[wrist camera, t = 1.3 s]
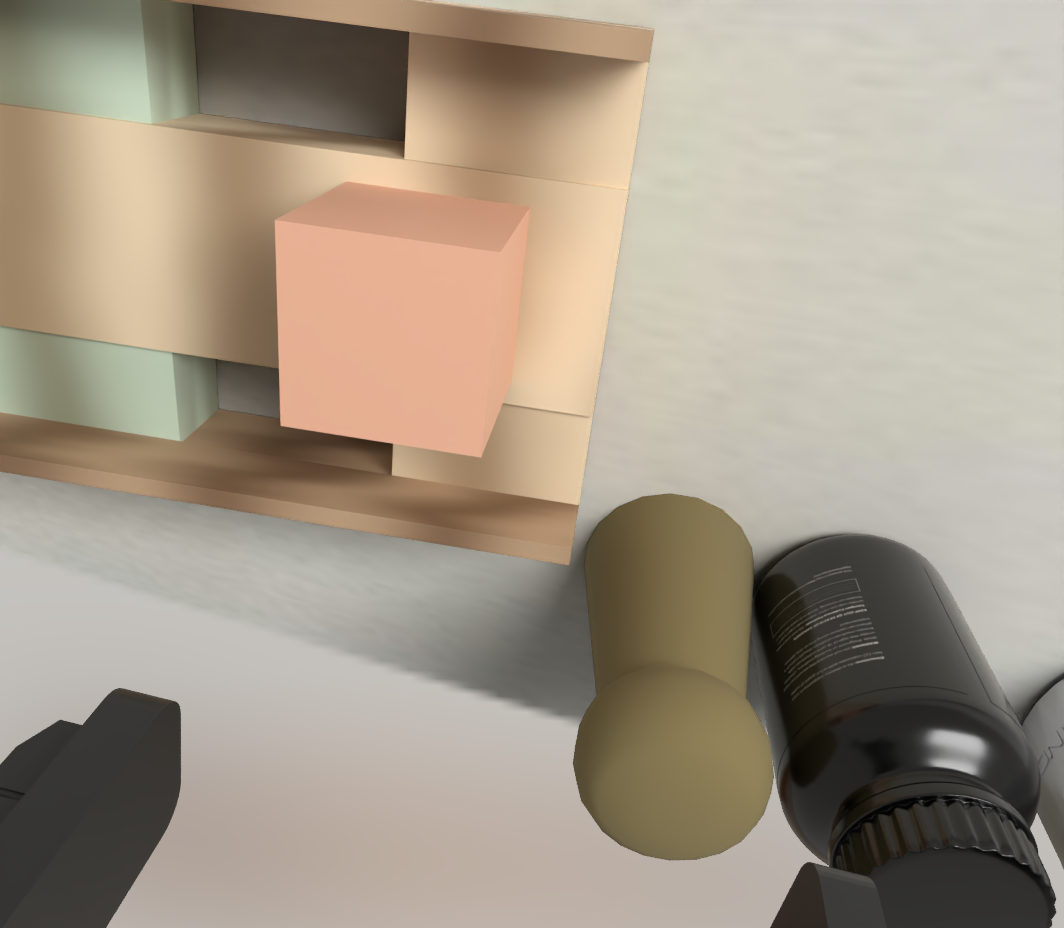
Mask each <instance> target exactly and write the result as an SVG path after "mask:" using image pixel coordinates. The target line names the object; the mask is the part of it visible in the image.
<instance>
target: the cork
mask: <svg viewBox="0 0 1064 928" xmlns="http://www.w3.org/2000/svg"><path fill="white" fill-rule="evenodd" d="M584 571H585V582H586V592H587V602H588V613H589V623H590V633H591V644H592V654H593V664H594V675H595V685H596V695H597V696H596V697H595V699H594V700H593V702H592V703H591V705H590V706H589V708H588V709H587V711H586V713H585V715H584V717H583V719H582V721H581V723H580V725H579V729H578V735H577V740H576V745H575V752H574V759H573V766H574V771H575V776H576V781H577V785H578V789H579V793H580V797H581V801H582V803H583V804H584V806H585V807H586V808H587V810H588V811H589V813H590V814H591V815H592V817H593V819H594V820H595V821H596V823H597V824H598V826H599V827H600V829H601V830H602V831H603V832H604V833H605V834H607V835H608V836H609V837H610V838H612V839H613V840H614V841H616V842H617V843H618V844H620V845H621V846H623V847H626V848H628V849H630V850H633V851H635V852H637V853H639V854H642V855H645V856H650V857H655V858H660V859H666V860H697V859H700V858H704V857H708V856H712V855H716V854H720V853H722V852H724V851H726V850H727V849H729V848H731V847H733V846H734V845H736V844H738V843H740V842H741V841H742V840H743V839H744V838H745V837H746V836H747V834H748V833H749V832H750V831H751V830H752V829H753V828H754V827H755V826H756V824H757V823H758V821H759V820H760V818H761V817H762V816H763V814H764V812H765V809H766V806H767V803H768V800H769V797H770V794H771V790H772V784H773V778H774V775H773V765H772V755H771V749H770V743H769V738H768V735H767V733H766V731H765V729H764V727H763V725H762V724H761V722H760V720H759V718H758V716H757V715H756V713H755V711H754V709H753V708H752V706H751V704H750V702H749V701H748V700H747V699H746V698H747V682H748V665H749V649H750V632H751V616H752V599H753V583H754V563H753V554H752V547H751V545H750V543H749V541H748V540H747V538H746V536H745V534H744V532H743V530H742V528H741V527H740V526H739V525H738V524H737V523H736V522H735V521H734V520H733V519H732V518H731V517H730V516H729V515H728V514H726V513H725V512H724V511H723V510H722V509H720V508H718V507H716V506H714V505H711V504H709V503H707V502H705V501H703V500H701V499H699V498H694V497H688V496H682V495H676V494H663V495H654V496H645V497H641V498H639V499H636V500H634V501H631V502H629V503H627V504H624V505H622V506H619V507H618V508H616V509H615V510H614V511H613V512H612V513H610V514H609V515H608V516H607V517H606V518H605V519H603V520H602V521H601V522H600V523H599V524H598V526H597V528H596V529H595V531H594V533H593V534H592V536H591V538H590V539H589V541H588V543H587V549H586V555H585V560H584Z"/></svg>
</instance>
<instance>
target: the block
mask: <svg viewBox="0 0 1064 928" xmlns="http://www.w3.org/2000/svg"><path fill="white" fill-rule="evenodd" d="M529 214H530V207H526V206H519V205H512V204H505V203H498V202H491V201H483V200H476V199H469V198H462V197H455V196H448V195H441V194H433V193H426V192H419V191H412V190H405V189H398V188H391V187H384V186H376V185H369V184H362V183H355V182H348V181H347V182H345V183H343V184H341V185H339V186H337V187H335V188H333V189H332V190H330V191H328V192H326V193H324V194H322V195H320V196H319V197H317V198H315V199H313V200H311V201H309V202H307V203H306V204H304V205H302V206H300V207H298V208H296V209H294V210H292V211H291V212H289V213H287V214H285V215H283V216H281V217H279V218H278V219H276V220H275V246H276V282H277V317H278V352H279V388H280V423H281V426H285V427H291V428H297V429H304V430H310V431H316V432H323V433H329V434H335V435H341V436H348V437H354V438H360V439H367V440H373V441H379V442H386V443H392V444H398V445H405V446H411V447H417V448H424V449H430V450H436V451H442V452H449V453H455V454H461V455H468V456H474V457H480V458H481V457H482V454H483V452H484V449H485V447H486V444H487V442H488V439H489V437H490V434H491V432H492V429H493V427H494V424H495V421H496V419H497V416H498V414H499V411H500V409H501V406H502V404H503V401H504V399H505V396H506V394H507V391H508V389H509V386H510V384H511V381H512V373H513V363H514V354H515V345H516V335H517V326H518V317H519V308H520V298H521V289H522V280H523V270H524V261H525V252H526V242H527V233H528V224H529Z"/></svg>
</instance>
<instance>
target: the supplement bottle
mask: <svg viewBox="0 0 1064 928" xmlns="http://www.w3.org/2000/svg"><path fill="white" fill-rule="evenodd" d="M751 637H752V644H753V651H754V657H755V663H756V668H757V674H758V680H759V686H760V691H761V697H762V703H763V709H764V714H765V720H766V726H767V732H768V737H769V743H770V749H771V755H772V760H773V766H774V771H775V777H776V783H777V789H778V793H779V797H780V801H781V805H782V809H783V812H784V814H785V817H786V819H787V821H788V823H789V825H790V827H791V828H792V830H793V831H794V833H795V834H796V835H797V837H798V838H799V839H800V841H801V842H802V843H803V844H804V845H805V846H806V847H807V848H808V849H809V850H810V851H811V852H812V853H813V854H814V855H815V856H817V857H818V858H819V859H820V860H822V861H823V862H825V863H826V864H827V865H829V867H831V868H835V869H839V870H843V871H847V872H851V873H855V874H859V875H863V876H867V877H869V878H870V879H871V880H872V881H873V882H874V884H875V886H876V888H877V891H878V894H879V898H880V902H881V906H882V910H883V914H884V918H885V923H886V927H887V928H1050V927H1051V926H1052V920H1051V919H1052V918H1053V917H1054V915H1055V914H1056V909H1055V906H1054V904H1055V901H1056V897H1055V893H1054V891H1053V889H1052V886H1051V883H1050V879H1049V877H1048V875H1047V872H1046V870H1045V868H1044V866H1043V864H1042V862H1041V860H1040V857H1039V856H1038V848H1037V844H1036V842H1035V839H1034V837H1033V834H1032V832H1031V831H1030V827H1031V825H1032V823H1033V821H1034V819H1035V816H1036V813H1037V810H1038V806H1039V801H1040V795H1041V776H1040V769H1039V765H1038V761H1037V759H1036V756H1035V754H1034V751H1033V749H1032V747H1031V745H1030V742H1029V740H1028V738H1027V736H1026V734H1025V732H1024V730H1023V728H1022V726H1021V724H1020V723H1019V721H1018V719H1017V717H1016V715H1015V713H1014V711H1013V709H1012V707H1011V706H1010V704H1009V702H1008V700H1007V698H1006V696H1005V694H1004V692H1003V690H1002V688H1001V687H1000V685H999V683H998V681H997V679H996V677H995V675H994V673H993V671H992V670H991V668H990V666H989V664H988V662H987V660H986V658H985V656H984V654H983V653H982V651H981V649H980V647H979V645H978V643H977V641H976V639H975V637H974V636H973V634H972V632H971V630H970V628H969V626H968V624H967V622H966V620H965V619H964V617H963V615H962V613H961V611H960V609H959V607H958V605H957V603H956V602H955V600H954V598H953V596H952V594H951V593H950V591H949V589H948V587H947V586H946V584H945V582H944V580H943V579H942V577H941V576H940V574H939V573H938V572H937V570H936V569H935V568H934V566H933V565H932V564H931V563H930V562H929V561H928V560H927V559H925V558H924V557H923V556H922V555H920V554H919V553H917V552H916V551H914V550H913V549H911V548H909V547H907V546H906V545H904V544H901V543H899V542H896V541H893V540H890V539H887V538H883V537H878V536H872V535H861V534H849V535H838V536H832V537H827V538H823V539H820V540H816V541H814V542H811V543H808V544H806V545H804V546H802V547H800V548H798V549H796V550H794V551H793V552H791V553H789V554H788V555H787V556H785V557H784V558H782V559H781V560H780V561H779V562H778V563H777V564H776V565H775V566H774V567H773V568H772V569H771V570H770V571H769V572H768V573H767V574H766V576H765V577H764V578H763V580H762V581H761V583H760V584H759V586H758V588H757V590H756V593H755V595H754V598H753V601H752V616H751Z"/></svg>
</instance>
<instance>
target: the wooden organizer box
mask: <svg viewBox="0 0 1064 928" xmlns="http://www.w3.org/2000/svg"><path fill="white" fill-rule="evenodd" d="M192 4H198V5H206V6H213V7H221V8H229V9H237V10H244V11H252V12H260V13H268V14H276V15H283V16H291V17H299V18H307V19H314V20H322V21H330V22H338V23H345V24H353V25H361V26H369V27H376V28H384V29H392V30H400V31H408V32H409V56H408V81H407V106H406V131H405V142H404V141H397V140H390V139H382V138H375V137H368V136H360V135H353V134H346V133H338V132H331V131H324V130H316V129H309V128H302V127H295V126H287V125H280V124H273V123H265V122H258V121H251V120H243V119H236V118H229V117H221V116H214V115H207V114H200V113H199V98H198V82H197V67H196V51H195V36H194V20H193V5H192ZM653 33H654V29H652V28H644V27H636V26H628V25H620V24H613V23H605V22H597V21H589V20H581V19H573V18H565V17H557V16H549V15H541V14H533V13H525V12H518V11H510V10H502V9H494V8H486V7H478V6H470V5H462V4H454V3H446V2H438V1H431V0H0V472H6V473H12V474H18V475H25V476H31V477H37V478H43V479H49V480H55V481H61V482H67V483H73V484H79V485H85V486H91V487H97V488H103V489H109V490H115V491H121V492H127V493H134V494H140V495H146V496H152V497H158V498H164V499H170V500H176V501H182V502H188V503H194V504H200V505H206V506H212V507H218V508H224V509H230V510H237V511H243V512H249V513H255V514H261V515H267V516H273V517H279V518H285V519H291V520H297V521H303V522H309V523H315V524H321V525H327V526H333V527H339V528H346V529H352V530H358V531H364V532H370V533H376V534H382V535H388V536H394V537H400V538H406V539H412V540H418V541H424V542H430V543H436V544H442V545H448V546H455V547H461V548H467V549H473V550H479V551H485V552H491V553H497V554H503V555H509V556H515V557H521V558H527V559H533V560H539V561H545V562H551V563H557V564H564V565H569V564H570V557H571V551H572V545H573V539H574V532H575V526H576V520H577V513H578V507H579V501H580V495H581V488H582V482H583V476H584V469H585V463H586V457H587V450H588V444H589V438H590V431H591V425H592V419H593V412H594V406H595V400H596V394H597V387H598V381H599V375H600V368H601V362H602V356H603V349H604V343H605V337H606V330H607V324H608V318H609V311H610V305H611V299H612V292H613V286H614V280H615V273H616V267H617V261H618V254H619V248H620V242H621V235H622V229H623V223H624V216H625V210H626V204H627V197H628V191H629V185H630V179H631V172H632V166H633V160H634V153H635V147H636V141H637V134H638V128H639V122H640V115H641V109H642V103H643V96H644V90H645V84H646V77H647V71H648V65H649V58H650V52H651V46H652V39H653ZM347 181H348V182H355V183H362V184H369V185H376V186H384V187H391V188H398V189H405V190H412V191H419V192H426V193H433V194H441V195H448V196H455V197H462V198H469V199H476V200H483V201H491V202H498V203H505V204H512V205H519V206H526V207H530V214H529V224H528V233H527V242H526V252H525V261H524V270H523V280H522V289H521V298H520V308H519V317H518V326H517V335H516V345H515V354H514V363H513V373H512V381H511V384H510V386H509V389H508V391H507V394H506V396H505V399H504V401H503V404H502V406H501V409H500V411H499V414H498V416H497V419H496V421H495V424H494V427H493V429H492V432H491V434H490V437H489V439H488V442H487V444H486V447H485V449H484V452H483V454H482V457H481V458H480V457H474V456H468V455H461V454H455V453H449V452H442V451H436V450H430V449H424V448H417V447H411V446H405V445H398V444H392V443H386V442H379V441H373V440H367V439H360V438H354V437H348V436H341V435H335V434H329V433H323V432H316V431H310V430H304V429H297V428H291V427H285V426H281V423H280V419H278V418H271V417H265V416H259V415H252V414H246V413H240V412H233V411H227V410H221V409H219V406H218V391H217V376H216V360H215V359H220V360H226V361H233V362H239V363H245V364H252V365H258V366H265V367H271V368H278V369H279V352H278V317H277V282H276V246H275V220H276V219H278V218H279V217H281V216H283V215H285V214H287V213H289V212H291V211H292V210H294V209H296V208H298V207H300V206H302V205H304V204H306V203H307V202H309V201H311V200H313V199H315V198H317V197H319V196H320V195H322V194H324V193H326V192H328V191H330V190H332V189H333V188H335V187H337V186H339V185H341V184H343V183H345V182H347Z"/></svg>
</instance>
